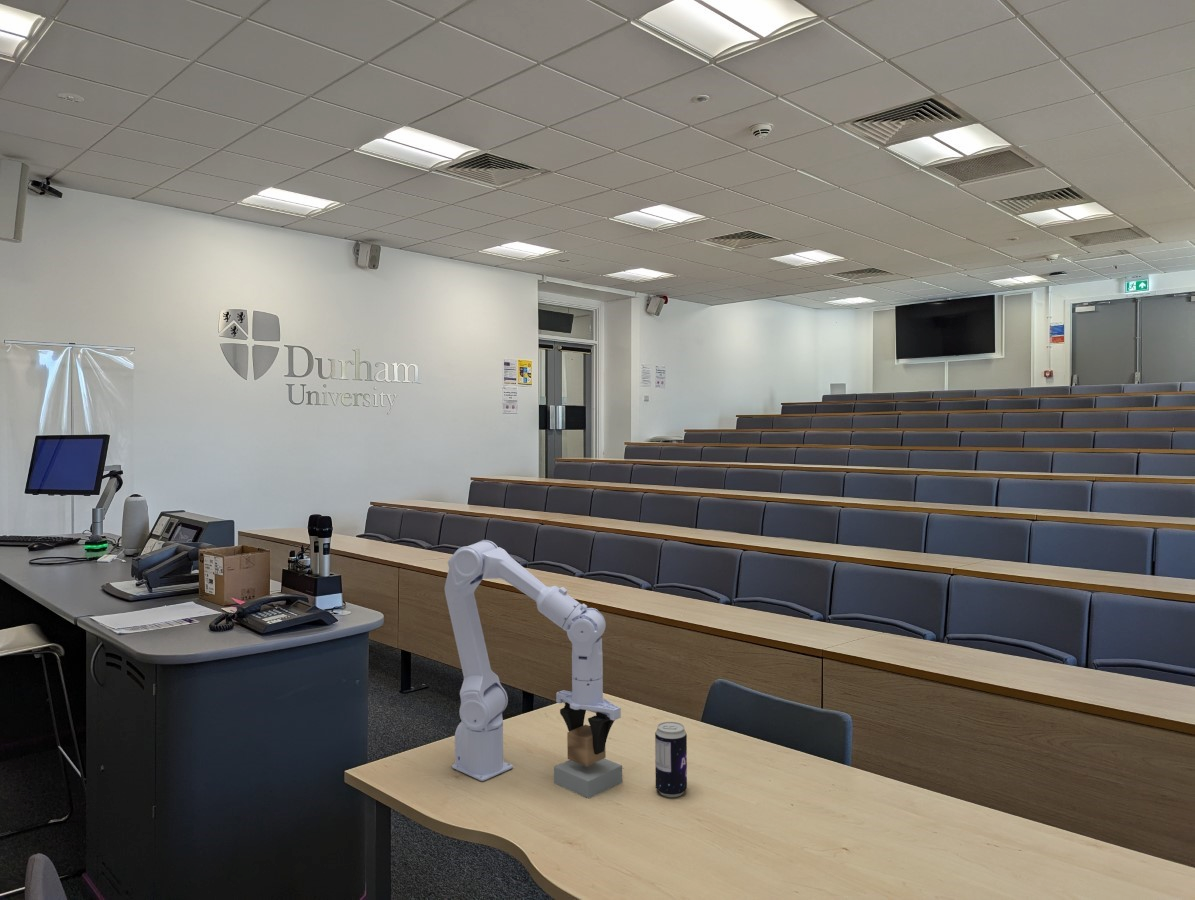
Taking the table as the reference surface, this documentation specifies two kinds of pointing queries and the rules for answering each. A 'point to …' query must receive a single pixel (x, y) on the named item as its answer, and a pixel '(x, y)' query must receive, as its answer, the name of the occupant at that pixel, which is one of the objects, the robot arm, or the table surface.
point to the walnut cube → (582, 746)
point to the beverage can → (671, 759)
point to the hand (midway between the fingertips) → (587, 748)
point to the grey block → (588, 776)
